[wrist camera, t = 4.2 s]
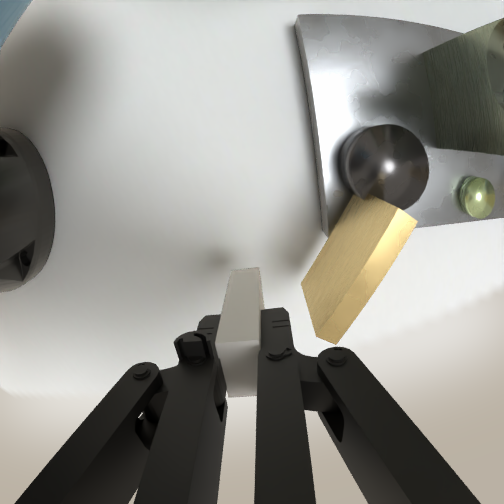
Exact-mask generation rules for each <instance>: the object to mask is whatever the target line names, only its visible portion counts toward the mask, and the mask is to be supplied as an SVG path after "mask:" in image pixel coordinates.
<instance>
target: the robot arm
mask: <svg viewBox="0 0 504 504" xmlns="http://www.w3.org/2000/svg"><path fill="white" fill-rule="evenodd" d="M31 1H32V0H0V49H1V47H2V45H3V44H4V42H5V40H6V39H7V37H8V35H9V34H10V32H11V31H12V29H13V27H14V26H15V24H16V23H17V21H18V20H19V18H20V17H21V15H22V14H23V13H24V11H25V10H26V8H27V7H28V6H29V4H30V3H31ZM54 218H55V216H54V202H53V195H52V189H51V184H50V180H49V177H48V174H47V171H46V168H45V165H44V163H43V161H42V158H41V157H40V155H39V153H38V151H37V150H36V148H35V147H34V145H33V144H32V143H31V141H30V140H29V139H28V138H27V137H25V136H24V135H23V134H22V133H20V132H18V131H16V130H13V129H10V128H0V293H2V292H7V291H12V290H15V289H17V288H19V287H21V286H22V285H24V284H25V283H27V282H28V281H29V280H31V279H32V278H34V277H35V276H36V275H37V274H38V273H39V272H40V271H41V270H42V268H43V267H44V265H45V263H46V261H47V259H48V256H49V253H50V250H51V246H52V242H53V236H54ZM174 345H175V348H176V351H177V355H178V358H179V363H178V365H177V366H175V367H172V368H168V369H163V370H159V368H158V366H157V365H156V364H154V363H151V362H143V363H138V364H136V365H134V366H132V367H131V368H130V369H128V370H127V372H126V373H125V374H124V375H123V376H122V377H121V378H120V380H119V381H118V382H117V383H116V384H115V385H114V387H113V388H112V389H111V390H110V391H109V392H108V393H107V395H106V396H105V397H104V398H103V399H102V401H101V402H100V403H99V404H98V405H97V406H96V407H95V408H94V410H93V411H92V412H91V413H90V414H89V415H88V417H87V418H86V419H85V420H84V421H83V422H82V424H81V425H80V426H79V427H78V428H77V429H76V431H75V432H74V433H73V434H72V435H71V437H70V438H69V439H68V440H67V441H66V443H65V444H64V445H63V446H62V447H61V448H60V450H59V451H58V452H57V453H56V454H55V455H54V457H53V458H52V459H51V460H50V461H49V463H48V464H47V465H46V466H45V467H44V469H43V470H42V471H41V472H40V473H39V475H38V476H37V477H36V478H35V479H34V481H33V482H32V483H31V484H30V485H29V487H28V488H27V489H26V490H25V491H24V493H23V494H22V495H21V496H20V498H19V499H18V500H17V501H16V503H15V504H128V503H129V501H130V500H131V498H132V496H133V495H134V493H135V492H136V490H137V488H138V491H137V494H136V497H135V501H134V504H217V499H218V490H219V481H220V471H221V462H222V452H223V444H224V435H225V426H226V417H227V409H228V406H227V401H226V398H225V396H226V389H227V393H228V397H244V396H257V417H256V459H255V496H254V504H316V499H315V491H314V482H313V474H312V465H311V457H310V450H309V442H308V435H307V427H306V419H305V413H304V410H310V411H318V415H319V417H320V419H321V420H322V422H323V424H324V426H325V427H326V429H327V431H328V433H329V435H330V437H331V438H332V440H333V442H334V444H335V445H336V447H337V449H338V451H339V453H340V454H341V456H342V458H343V460H344V462H345V463H346V465H347V467H348V469H349V471H350V472H351V474H352V476H353V478H354V479H355V481H356V483H357V485H358V486H359V488H360V490H361V492H362V493H363V495H364V497H365V499H366V500H367V502H368V504H481V503H480V502H479V501H478V500H477V498H476V497H475V496H474V495H473V494H472V492H471V491H470V490H469V489H468V487H467V486H466V485H465V484H464V483H463V481H462V480H461V479H460V478H459V477H458V475H457V474H456V473H455V472H454V470H453V469H452V468H451V467H450V466H449V464H448V463H447V462H446V461H445V460H444V458H443V457H442V456H441V455H440V454H439V452H438V451H437V450H436V449H435V448H434V446H433V445H432V444H431V443H430V442H429V440H428V439H427V438H426V437H425V436H424V435H423V433H422V432H421V431H420V430H419V428H418V427H417V426H416V425H415V424H414V423H413V421H412V420H411V419H410V418H409V417H408V416H407V414H406V413H405V412H404V411H403V410H402V408H401V407H400V406H399V405H398V404H397V402H396V401H395V400H394V399H393V398H392V397H391V395H390V394H389V393H388V392H387V391H386V390H385V388H384V387H383V386H382V385H381V384H380V382H379V381H378V380H377V379H376V378H375V377H374V375H373V374H372V373H371V372H370V371H369V370H368V368H367V367H366V366H365V365H364V364H363V362H362V361H361V360H360V359H359V358H358V357H357V356H356V354H355V353H354V352H352V351H351V350H350V349H347V348H344V347H332V348H328V349H326V350H323V351H322V352H321V353H320V354H319V355H318V357H311V356H305V355H303V354H300V353H299V352H297V350H296V349H295V348H294V344H293V338H292V331H291V325H290V319H289V313H288V312H287V311H286V310H285V309H284V308H283V307H282V308H273V309H265V308H264V300H263V293H262V285H261V277H260V270H259V267H257V268H248V269H239V270H231V273H230V278H229V282H228V286H227V291H226V295H225V300H224V304H223V309H222V313H221V314H220V315H208V316H205V317H204V318H203V319H202V320H201V321H200V322H199V325H198V328H197V331H193V332H187V333H185V334H182V335H180V336H179V337H178V338H176V340H175V341H174ZM141 413H143V414H142V415H141V416H140V414H141ZM139 416H140V417H139ZM138 417H139V418H138Z"/></svg>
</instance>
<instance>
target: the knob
mask: <svg viewBox="0 0 504 504" xmlns="http://www.w3.org/2000/svg"><path fill="white" fill-rule="evenodd" d="M339 167H340V174H341V177H342V180H343V182H344V184H345V186H346V187H347V189H348V190H349V191H350V193H351V194H352V195H353V196H352V198H351V200H350V202H349V203H348V205H347V207H346V209H345V210H344V212H343V214H342V216H341V217H340V219H339V221H338V223H337V224H336V226H335V228H334V229H333V231H332V233H331V235H330V236H329V238H328V240H327V241H326V243H325V245H324V246H323V248H322V250H321V251H320V253H319V255H318V256H317V258H316V260H315V261H314V263H313V265H312V266H311V268H310V269H309V271H308V273H307V274H306V276H305V278H304V279H303V281H302V282H301V286H302V289H303V293H304V296H305V300H306V303H307V306H308V310H309V313H310V317H311V320H312V324H313V327H314V331H315V334H316V337H318V338H321V339H323V340H326V341H328V342H330V343H333V344H335V345H336V344H337V343H338V342H339V340H340V339H341V338H342V336H343V335H344V334H345V332H346V331H347V330H348V328H349V327H350V326H351V324H352V323H353V321H354V320H355V319H356V317H357V316H358V315H359V313H360V312H361V310H362V309H363V308H364V306H365V305H366V303H367V302H368V300H369V299H370V297H371V296H372V295H373V293H374V292H375V290H376V289H377V287H378V286H379V284H380V283H381V281H382V280H383V278H384V276H385V275H386V273H387V272H388V270H389V269H390V267H391V266H392V264H393V262H394V261H395V259H396V258H397V256H398V254H399V253H400V251H401V249H402V248H403V246H404V244H405V243H406V241H407V239H408V238H409V236H410V234H411V233H412V231H413V229H414V227H415V226H416V224H417V222H418V221H416V220H415V219H414V218H412V217H411V216H409V215H408V214H407V213H405V212H404V211H403V210H405V209H407V208H409V207H411V206H412V205H413V204H415V203H416V202H417V201H418V200H419V198H420V197H421V196H422V194H423V192H424V190H425V188H426V186H427V183H428V178H429V161H428V157H427V153H426V151H425V148H424V147H423V145H422V143H421V142H420V140H419V139H418V138H417V137H416V136H415V135H414V134H413V133H412V132H411V131H409V130H408V129H406V128H404V127H402V126H399V125H394V124H383V125H376V126H370V127H365V128H362V129H360V130H358V131H356V132H355V133H353V134H352V135H351V136H350V137H349V138H348V139H347V141H346V142H345V144H344V146H343V148H342V151H341V154H340V160H339Z"/></svg>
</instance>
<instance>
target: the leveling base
mask: <svg viewBox="0 0 504 504" xmlns="http://www.w3.org/2000/svg"><path fill="white" fill-rule="evenodd" d="M295 30H296V35H297V40H298V45H299V51H300V56H301V62H302V67H303V73H304V79H305V85H306V91H307V97H308V104H309V111H310V118H311V125H312V132H313V140H314V148H315V156H316V165H317V174H318V184H319V194H320V205H321V217H322V230H323V232H324V233H325V234H326V236H327V237H328V238H329V236H330V235H331V233H332V231H333V229H334V228H335V226H336V224H337V223H338V221H339V219H340V217H341V216H342V214H343V212H344V210H345V209H346V207H347V205H348V203H349V202H350V200H351V198H352V196H353V195H352V194H351V193H350V191H349V190H348V189H347V187H346V186H345V184H344V182H343V180H342V177H341V174H340V167H339V160H340V154H341V151H342V148H343V146H344V144H345V142H346V141H347V139H348V138H349V137H350V136H351V135H352V134H353V133H355V132H356V131H358V130H360V129H362V128H365V127H370V126H376V125H383V124H394V125H399V126H402V127H404V128H406V129H408V130H409V131H411V132H412V133H413V134H414V135H415V136H416V137H417V138H418V139H419V140H420V142H421V143H422V145H423V147H424V148H425V151H426V153H427V157H428V161H429V178H428V183H427V186H426V188H425V190H424V192H423V194H422V196H421V197H420V198H419V200H418V201H417V202H416V203H415V204H413V205H412V206H411V207H409V208H407V209H405V210H403V211H404V212H405V213H407V214H408V215H409V216H411V217H412V218H414V219H415V220H416V221H418V222H417V224H416V226H415V227H414V228H420V227H428V226H437V225H445V224H454V223H462V222H471V221H479V220H488V219H496V218H504V18H502V19H499V20H497V21H494V22H492V23H489V24H486V25H484V26H481V27H479V28H476V29H474V30H472V31H469V32H467V33H465V34H463V33H459V32H456V31H452V30H448V29H443V28H439V27H435V26H430V25H425V24H420V23H414V22H408V21H402V20H395V19H387V18H378V17H368V16H355V15H331V14H306V15H298V16H297V19H296V23H295Z"/></svg>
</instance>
